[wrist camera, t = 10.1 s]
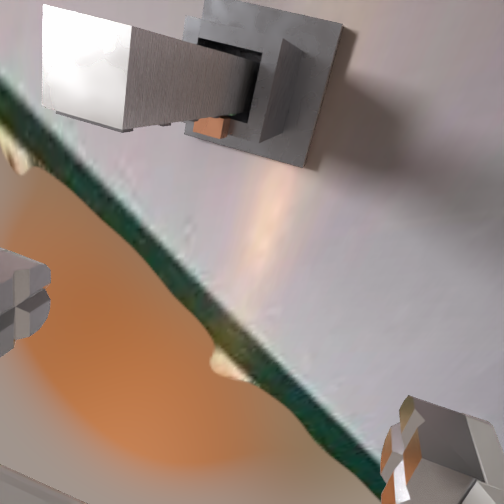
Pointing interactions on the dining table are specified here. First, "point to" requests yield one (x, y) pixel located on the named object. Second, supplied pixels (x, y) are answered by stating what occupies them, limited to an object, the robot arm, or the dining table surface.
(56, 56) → the column
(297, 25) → the stand
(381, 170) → the dining table surface
